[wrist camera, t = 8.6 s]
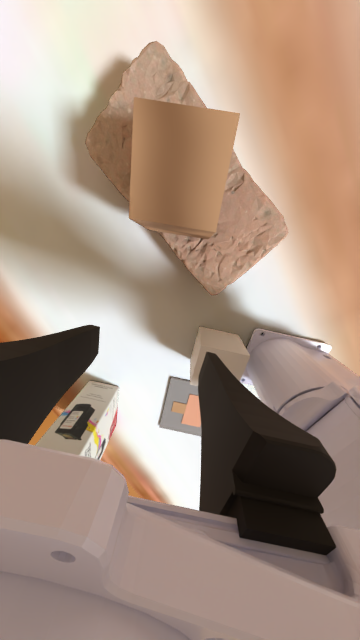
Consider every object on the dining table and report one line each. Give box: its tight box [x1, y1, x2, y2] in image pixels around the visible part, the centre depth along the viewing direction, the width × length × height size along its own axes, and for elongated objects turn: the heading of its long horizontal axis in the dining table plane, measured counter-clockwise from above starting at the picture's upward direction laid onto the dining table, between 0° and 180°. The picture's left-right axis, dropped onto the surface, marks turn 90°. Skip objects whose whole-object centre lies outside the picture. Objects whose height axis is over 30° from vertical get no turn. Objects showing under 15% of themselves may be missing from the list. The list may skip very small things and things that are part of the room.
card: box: [160, 377, 201, 436], centre depth 26 cm, size 7×10×1 cm
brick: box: [85, 41, 288, 295], centre depth 16 cm, size 17×8×5 cm, turn 43°
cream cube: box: [190, 326, 250, 386], centre depth 20 cm, size 5×5×5 cm
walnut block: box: [129, 97, 240, 239], centre depth 11 cm, size 5×5×5 cm
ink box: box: [35, 381, 119, 460], centre depth 22 cm, size 9×5×12 cm, turn 169°
